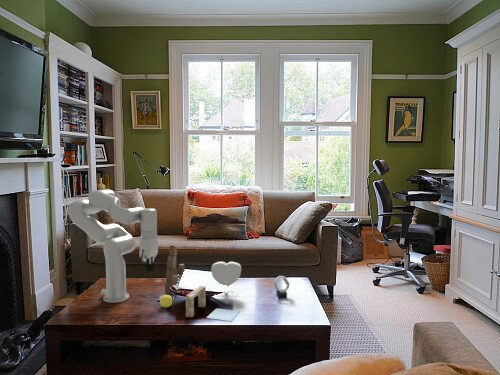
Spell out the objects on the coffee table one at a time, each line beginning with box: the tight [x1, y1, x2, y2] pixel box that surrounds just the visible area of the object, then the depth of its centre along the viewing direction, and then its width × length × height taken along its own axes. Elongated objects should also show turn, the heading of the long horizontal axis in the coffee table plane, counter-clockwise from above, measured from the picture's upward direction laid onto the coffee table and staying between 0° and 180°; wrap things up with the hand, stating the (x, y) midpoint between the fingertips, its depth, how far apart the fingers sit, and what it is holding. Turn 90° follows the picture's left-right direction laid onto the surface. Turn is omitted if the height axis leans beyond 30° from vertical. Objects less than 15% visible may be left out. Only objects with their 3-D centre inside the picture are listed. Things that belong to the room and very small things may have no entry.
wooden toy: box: [164, 244, 185, 295], centre depth 219 cm, size 16×7×25 cm, turn 173°
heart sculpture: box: [210, 261, 242, 299], centre depth 210 cm, size 16×5×18 cm, turn 88°
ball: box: [159, 294, 173, 308], centre depth 194 cm, size 6×6×6 cm
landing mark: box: [206, 307, 241, 322], centre depth 185 cm, size 12×12×1 cm
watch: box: [273, 275, 290, 300], centre depth 209 cm, size 6×8×11 cm
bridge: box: [185, 285, 207, 318], centre depth 189 cm, size 3×15×10 cm, turn 162°
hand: (149, 270), depth 196 cm, fingers closed
